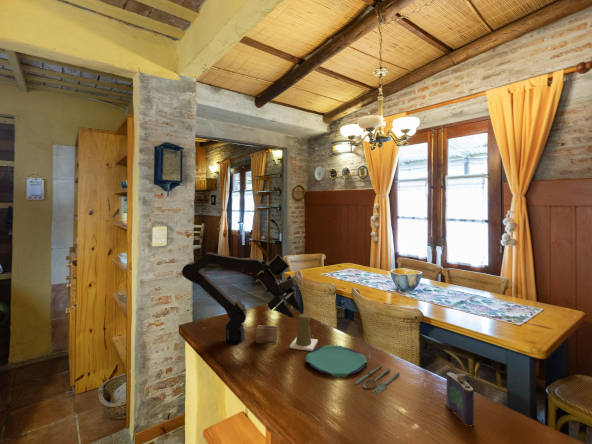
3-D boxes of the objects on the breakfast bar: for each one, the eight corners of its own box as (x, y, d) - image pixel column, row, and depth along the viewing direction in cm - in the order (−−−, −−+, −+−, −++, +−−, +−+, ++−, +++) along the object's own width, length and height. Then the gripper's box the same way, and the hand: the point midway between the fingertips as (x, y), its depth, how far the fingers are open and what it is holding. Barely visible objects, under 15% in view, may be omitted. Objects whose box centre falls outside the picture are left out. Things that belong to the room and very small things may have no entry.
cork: (313, 344, 120) (313, 316, 120) (298, 346, 118) (298, 318, 118) (308, 338, 126) (308, 311, 125) (294, 340, 124) (293, 313, 123)
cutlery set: (331, 345, 122) (331, 339, 121) (404, 376, 100) (404, 369, 100) (295, 363, 108) (295, 357, 107) (371, 403, 86) (371, 395, 86)
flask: (443, 404, 85) (444, 365, 84) (453, 403, 85) (454, 364, 85) (467, 427, 75) (468, 384, 75) (477, 426, 76) (479, 383, 75)
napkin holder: (256, 342, 124) (256, 327, 123) (258, 339, 127) (258, 325, 126) (276, 343, 123) (276, 329, 122) (277, 340, 126) (277, 326, 125)
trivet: (289, 347, 119) (289, 345, 119) (296, 338, 128) (296, 336, 128) (312, 351, 116) (312, 349, 116) (317, 341, 125) (317, 339, 125)
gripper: (275, 274, 114) (304, 307, 111) (292, 266, 132) (316, 294, 129) (256, 294, 117) (283, 326, 114) (274, 283, 135) (298, 311, 132)
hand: (296, 313), depth 122 cm, fingers open, 9 cm apart
